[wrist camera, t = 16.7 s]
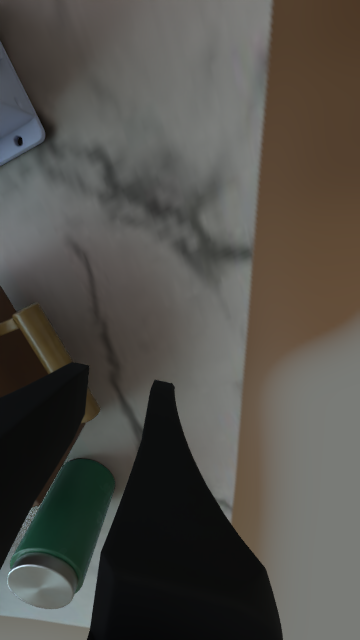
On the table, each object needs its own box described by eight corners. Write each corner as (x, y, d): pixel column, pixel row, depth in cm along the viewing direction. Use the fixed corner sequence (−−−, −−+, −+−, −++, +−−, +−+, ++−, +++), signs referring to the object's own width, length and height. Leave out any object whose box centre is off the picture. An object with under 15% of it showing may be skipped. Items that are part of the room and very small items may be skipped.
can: (87, 449, 26) (36, 551, 18) (126, 486, 27) (94, 598, 19) (48, 474, 27) (-14, 579, 20) (87, 509, 28) (43, 620, 21)
